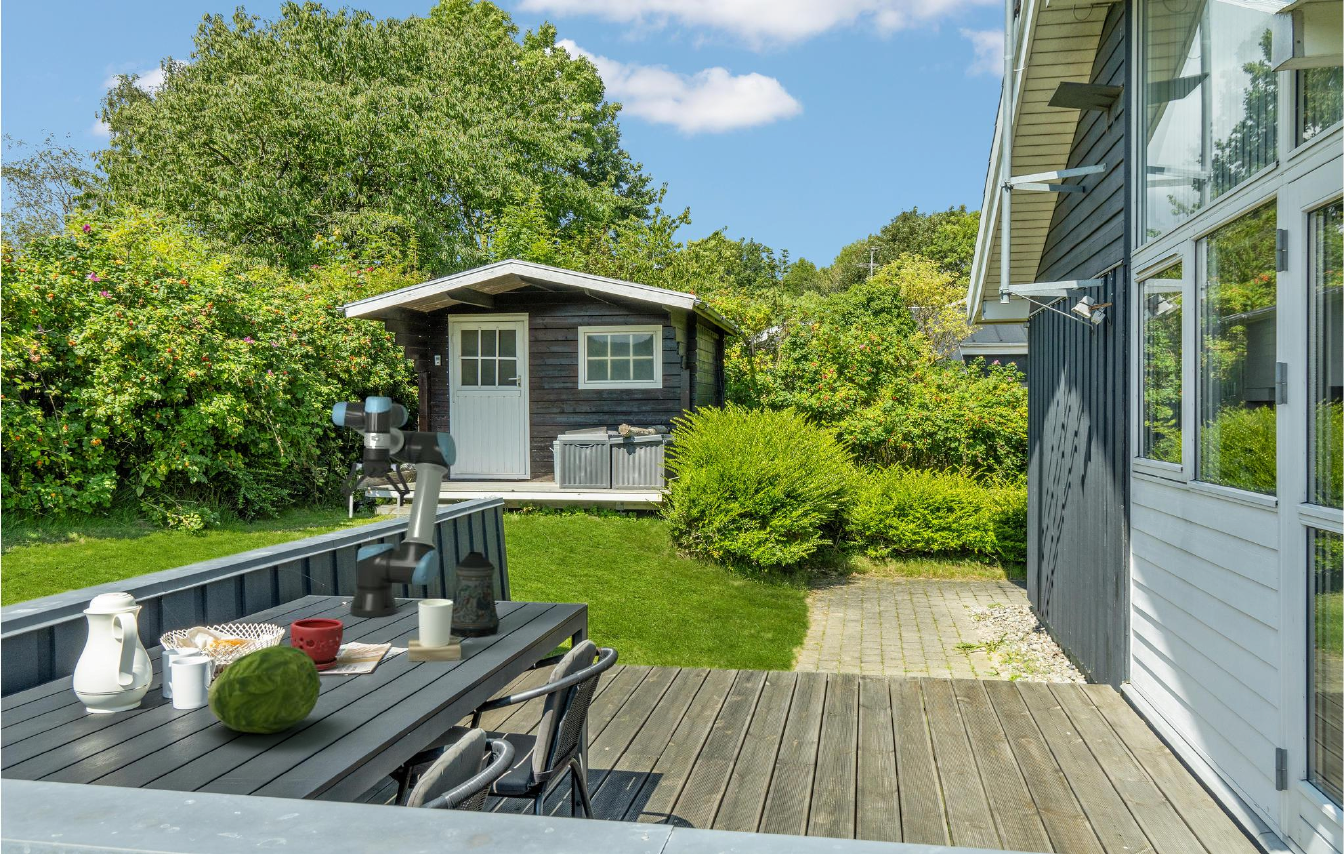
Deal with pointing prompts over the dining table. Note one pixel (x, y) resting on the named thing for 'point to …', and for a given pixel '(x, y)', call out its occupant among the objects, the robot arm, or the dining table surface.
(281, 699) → the lettuce
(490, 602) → the beer stein
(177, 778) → the dining table surface
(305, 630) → the plant pot
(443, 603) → the candle holder
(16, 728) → the dining table surface
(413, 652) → the plinth
